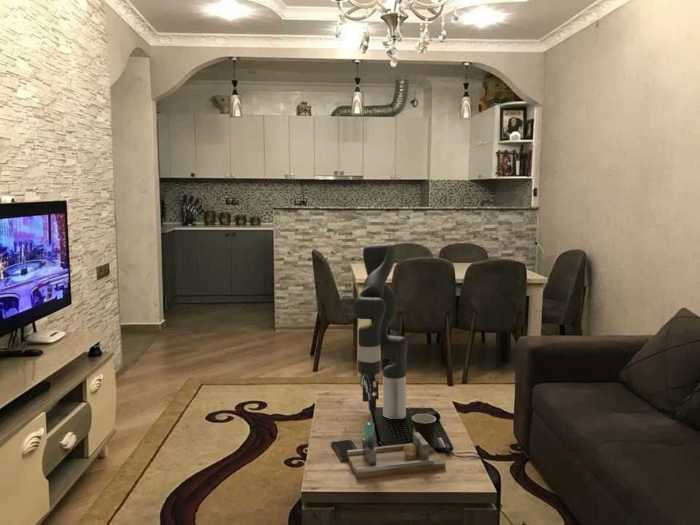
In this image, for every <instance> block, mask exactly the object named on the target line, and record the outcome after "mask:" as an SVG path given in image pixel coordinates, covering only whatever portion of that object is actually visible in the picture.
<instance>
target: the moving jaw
mask: <svg viewBox="0 0 700 525" xmlns="http://www.w3.org/2000/svg"><path fill="white" fill-rule="evenodd" d="M363 427H364V431H363V432H364V437H362V449H363V455H364V457H365V459H366V460H367V462H368V464H369V466H375V465H376V449H375V446H374V445H375V423H374V422H373V421H366V422H364V426H363Z"/></svg>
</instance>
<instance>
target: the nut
mask: <svg viewBox="0 0 700 525" xmlns="http://www.w3.org/2000/svg"><path fill="white" fill-rule="evenodd" d="M411 443H412V442H411ZM411 443H406V444H407V445H405V447H404V453H405V456H406V457H407V459H409V458H415V454H416V452H417V449H416V446H415V445H414V444H411Z"/></svg>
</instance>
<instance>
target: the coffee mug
mask: <svg viewBox="0 0 700 525" xmlns="http://www.w3.org/2000/svg"><path fill="white" fill-rule="evenodd" d="M411 423H412V431H413V433H416V432H419V433H420V435H421V436H422V437H423V438H424V439H425V441H426V442H427V443H428V444H430V445H432V444H433V445H434V437H435V430H436V425H437V424H436V423H437V418H436V416H434V415H432V414H429V413H417V414H414V415H412V416H411Z"/></svg>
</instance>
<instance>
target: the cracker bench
mask: <svg viewBox="0 0 700 525" xmlns="http://www.w3.org/2000/svg"><path fill="white" fill-rule="evenodd" d="M407 444H408V443H405V444H404V443H403V444H402V443H401V444H394V445H393V444H392V445H384V446H376V447H375V446H374V447H375V449H376V465H375V466H369V464H368V462H367V460H366V459H365V457H364V455H363V448H357V449H355V450H347V458H348V462H347V463H348V464H349V466H350V467H351V468H350V469H351V470H352V472H353V473H354V476H355V478H356V480H365V479H372V478H380V477H389V476H398V475H405V474H413V473H423V472H430V471H431V472H432V471H439V470H446V462H445V461H444V459H443V458H442V457H441V456H440V455H439V454H438V452H437V451H436V450H435V449H434V448H433V446H432V447H431V445H430V444H428V443H427V442H426V441H425V439H424V438H423V437H422V436H421V435H420V433H419V432H416V433H414V432H413V433H412V442H411V444H414V445H415V446H416V449H417V452H416V454H415V458H409V459H407V457H406V456H405V453H404V447H405V445H407Z"/></svg>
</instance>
